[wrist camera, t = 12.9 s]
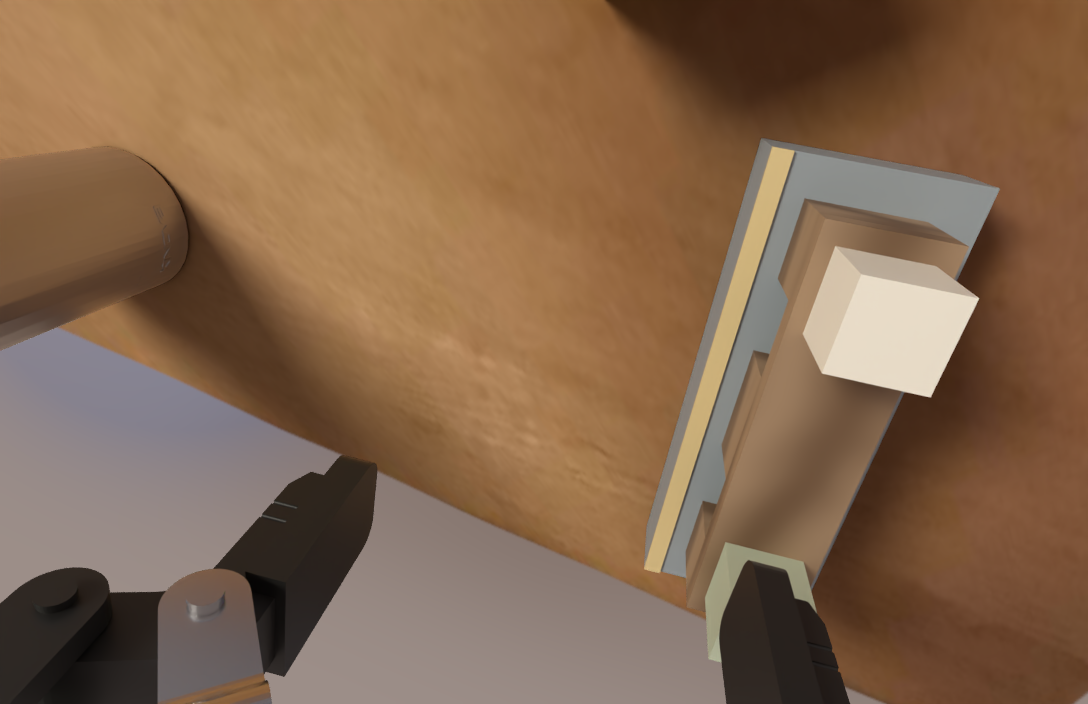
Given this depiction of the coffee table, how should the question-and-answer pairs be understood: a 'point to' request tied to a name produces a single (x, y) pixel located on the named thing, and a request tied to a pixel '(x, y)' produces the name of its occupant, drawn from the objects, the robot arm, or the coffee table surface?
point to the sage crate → (727, 578)
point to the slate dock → (780, 306)
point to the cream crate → (886, 321)
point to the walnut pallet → (804, 408)
